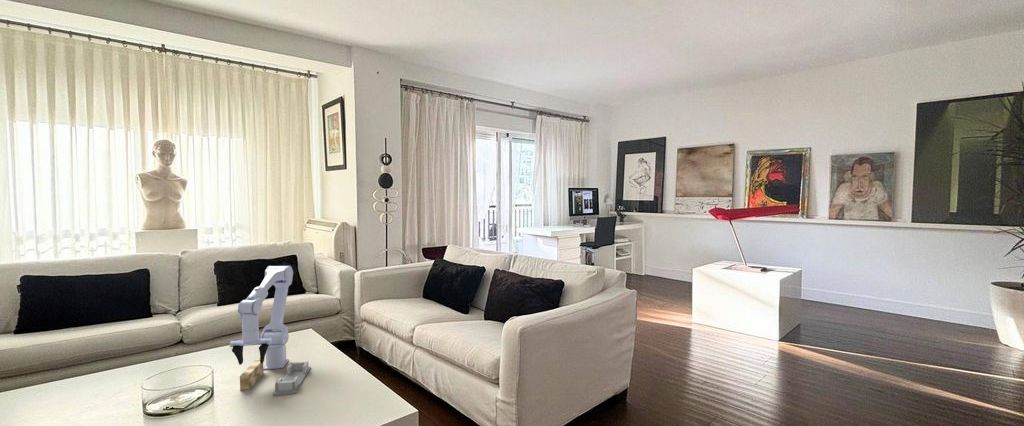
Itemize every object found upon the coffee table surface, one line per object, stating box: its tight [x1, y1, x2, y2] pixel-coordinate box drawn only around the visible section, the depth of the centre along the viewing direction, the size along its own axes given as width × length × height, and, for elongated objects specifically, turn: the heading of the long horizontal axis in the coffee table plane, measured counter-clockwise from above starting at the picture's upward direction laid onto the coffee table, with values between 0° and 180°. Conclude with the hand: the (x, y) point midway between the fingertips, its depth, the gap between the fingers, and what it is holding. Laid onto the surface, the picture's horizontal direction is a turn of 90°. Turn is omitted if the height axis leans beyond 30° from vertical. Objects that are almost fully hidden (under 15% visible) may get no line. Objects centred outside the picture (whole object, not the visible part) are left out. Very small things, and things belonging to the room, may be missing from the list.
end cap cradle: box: [271, 361, 312, 397], centre depth 174 cm, size 24×8×4 cm, turn 12°
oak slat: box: [239, 359, 264, 392], centre depth 173 cm, size 16×3×6 cm, turn 12°
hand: (251, 362), depth 171 cm, fingers open, 7 cm apart
